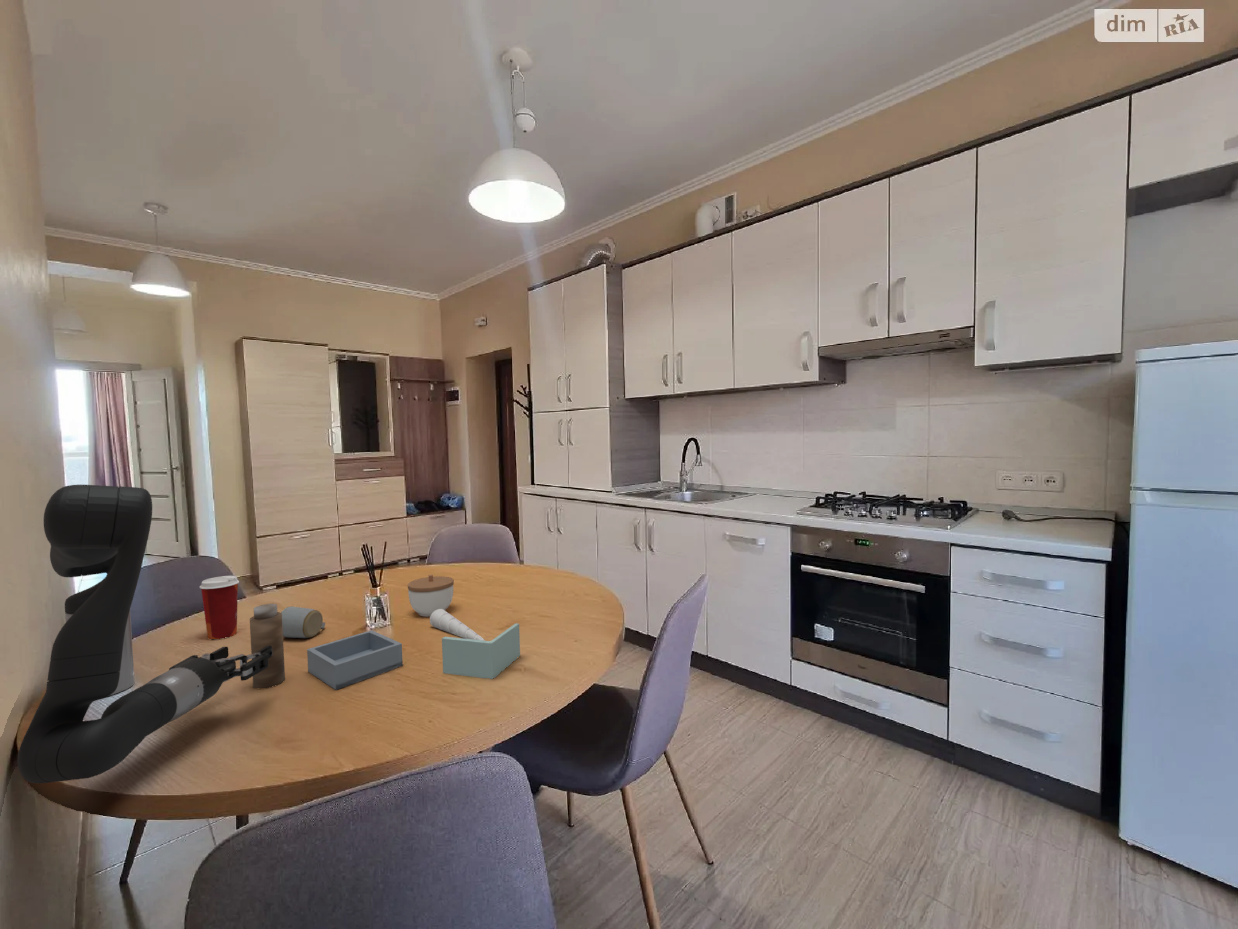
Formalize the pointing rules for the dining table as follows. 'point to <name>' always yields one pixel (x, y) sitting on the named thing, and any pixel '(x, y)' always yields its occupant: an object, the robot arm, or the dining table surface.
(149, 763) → the dining table surface
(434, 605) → the lidded bowl
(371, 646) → the bin
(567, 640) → the dining table surface
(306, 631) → the ceramic mug
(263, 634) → the pepper mill
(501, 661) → the right angle wall
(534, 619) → the dining table surface
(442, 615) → the unicorn horn
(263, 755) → the dining table surface
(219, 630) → the coffee cup
